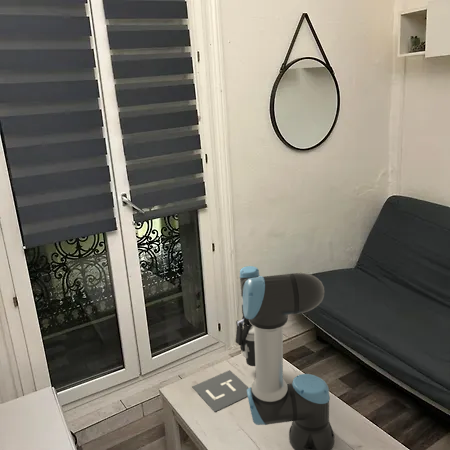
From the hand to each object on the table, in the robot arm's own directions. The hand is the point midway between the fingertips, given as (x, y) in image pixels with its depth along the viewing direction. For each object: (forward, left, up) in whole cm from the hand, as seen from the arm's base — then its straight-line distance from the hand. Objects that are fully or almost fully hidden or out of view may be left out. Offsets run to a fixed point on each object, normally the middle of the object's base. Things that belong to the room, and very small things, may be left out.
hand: (253, 352), depth 196 cm
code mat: (-2, +17, -9) cm, 19 cm away
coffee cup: (0, 0, -4) cm, 4 cm away
